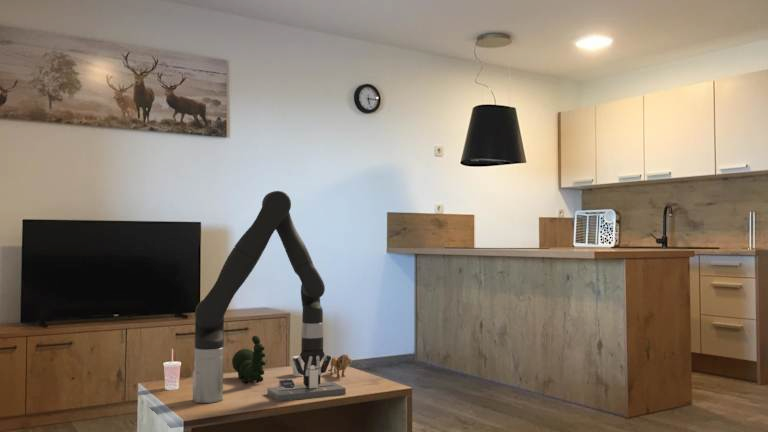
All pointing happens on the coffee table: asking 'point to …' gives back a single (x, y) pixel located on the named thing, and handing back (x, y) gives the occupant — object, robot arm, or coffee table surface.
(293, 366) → the white cup
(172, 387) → the beverage cup
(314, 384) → the cylinder
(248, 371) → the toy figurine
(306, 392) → the console
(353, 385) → the coffee table surface
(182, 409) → the coffee table surface
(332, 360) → the lion figurine
